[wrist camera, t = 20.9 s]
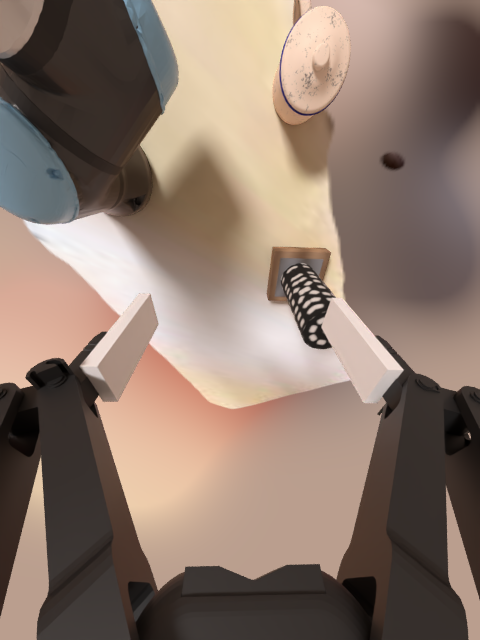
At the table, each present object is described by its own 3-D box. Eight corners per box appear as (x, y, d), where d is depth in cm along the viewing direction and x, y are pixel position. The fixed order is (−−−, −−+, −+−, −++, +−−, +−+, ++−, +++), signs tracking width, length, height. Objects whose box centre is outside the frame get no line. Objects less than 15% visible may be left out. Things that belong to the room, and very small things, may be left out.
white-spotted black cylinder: (276, 291, 51) (295, 346, 35) (286, 260, 46) (313, 306, 30) (307, 296, 52) (339, 351, 35) (320, 266, 47) (364, 313, 31)
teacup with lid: (327, 114, 35) (361, 91, 25) (276, 136, 36) (290, 122, 27) (322, -1, 28) (366, -91, 18) (260, 32, 29) (271, -36, 20)
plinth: (266, 294, 56) (268, 301, 52) (272, 246, 48) (275, 251, 45) (312, 295, 56) (316, 302, 53) (325, 248, 48) (331, 253, 45)
